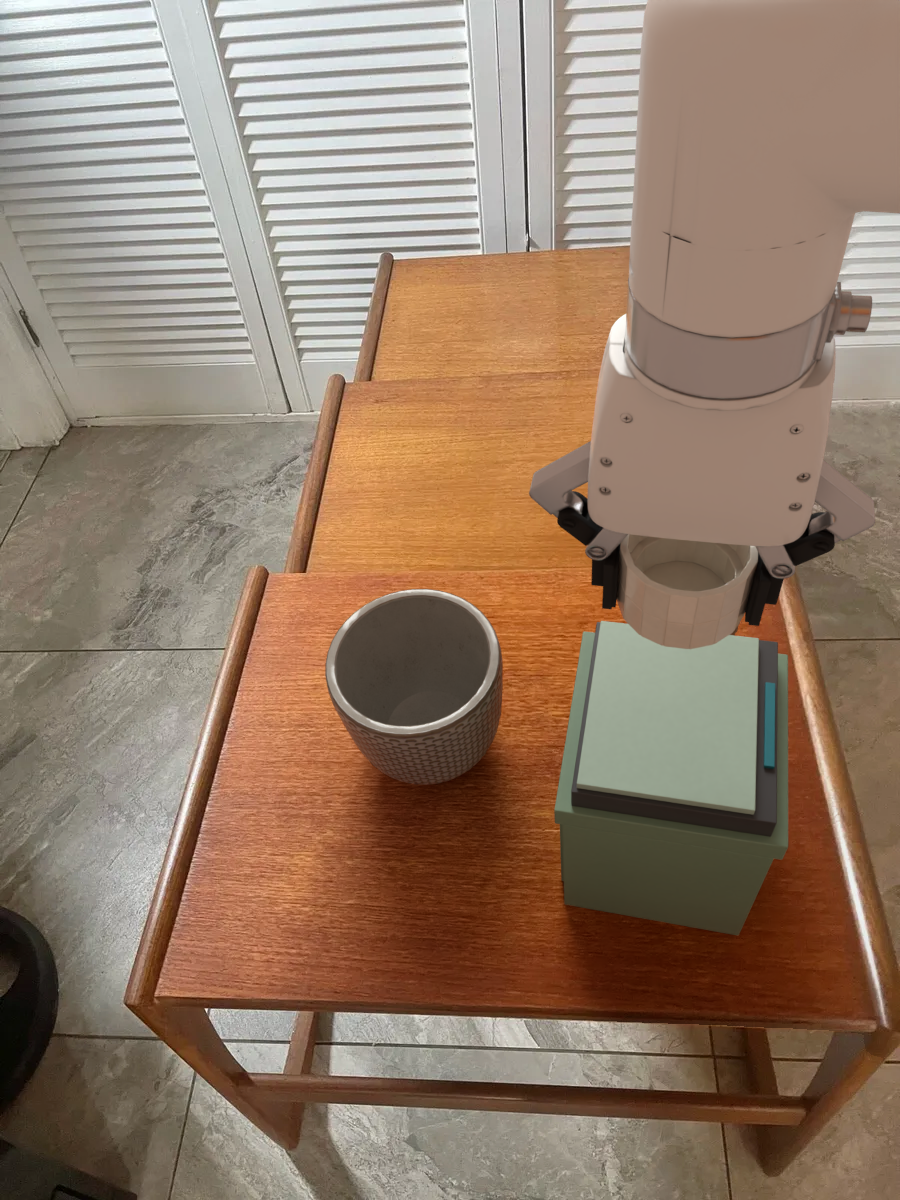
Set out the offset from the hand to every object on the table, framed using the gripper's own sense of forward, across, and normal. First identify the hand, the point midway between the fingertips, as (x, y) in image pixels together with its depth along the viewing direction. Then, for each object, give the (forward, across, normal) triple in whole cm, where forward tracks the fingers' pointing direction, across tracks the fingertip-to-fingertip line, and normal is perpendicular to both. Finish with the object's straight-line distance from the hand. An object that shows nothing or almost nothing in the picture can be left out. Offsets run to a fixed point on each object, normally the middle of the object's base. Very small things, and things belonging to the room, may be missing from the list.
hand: (680, 594), depth 49 cm
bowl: (+1, 0, 0) cm, 1 cm away
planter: (+31, +19, -5) cm, 36 cm away
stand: (+30, -1, +1) cm, 30 cm away
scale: (+13, -1, +1) cm, 13 cm away
